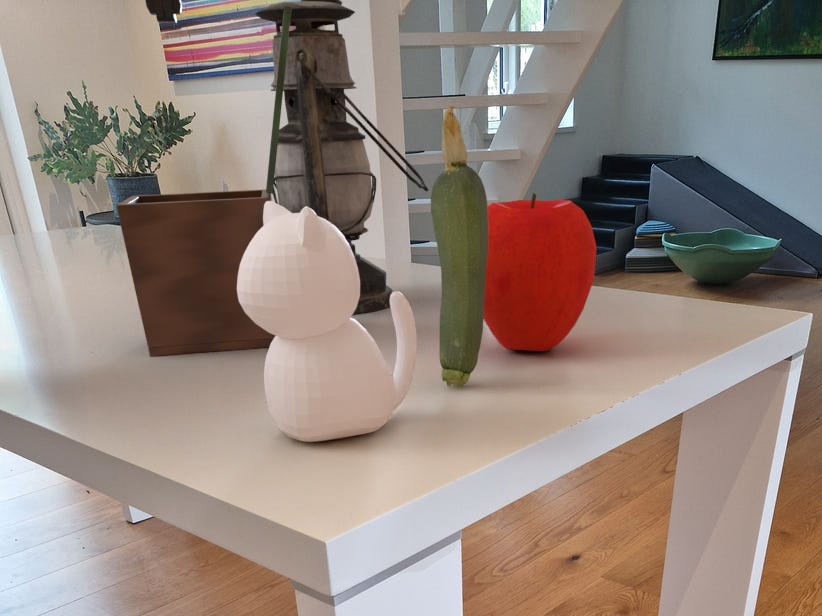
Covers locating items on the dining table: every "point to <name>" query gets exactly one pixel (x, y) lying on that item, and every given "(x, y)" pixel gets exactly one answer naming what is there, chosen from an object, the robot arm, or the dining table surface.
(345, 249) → the cat figurine
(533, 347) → the apple
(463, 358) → the vegetable
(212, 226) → the brown wooden bin
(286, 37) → the lid
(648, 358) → the dining table surface
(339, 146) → the lantern
